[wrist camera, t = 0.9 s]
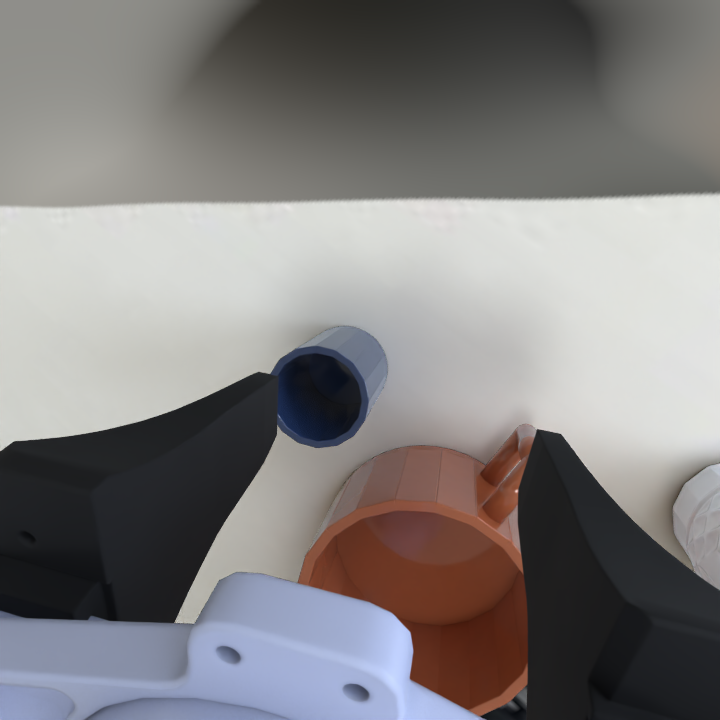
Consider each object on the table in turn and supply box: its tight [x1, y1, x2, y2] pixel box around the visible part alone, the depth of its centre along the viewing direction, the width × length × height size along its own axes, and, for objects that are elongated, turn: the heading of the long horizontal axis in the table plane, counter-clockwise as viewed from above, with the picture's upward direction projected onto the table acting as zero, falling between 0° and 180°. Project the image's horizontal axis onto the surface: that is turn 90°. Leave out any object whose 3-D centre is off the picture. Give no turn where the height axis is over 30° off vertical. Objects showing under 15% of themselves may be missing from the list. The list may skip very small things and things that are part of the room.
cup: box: [270, 326, 388, 448], centre depth 27 cm, size 5×5×6 cm
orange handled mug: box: [298, 424, 537, 716], centre depth 28 cm, size 16×12×7 cm
